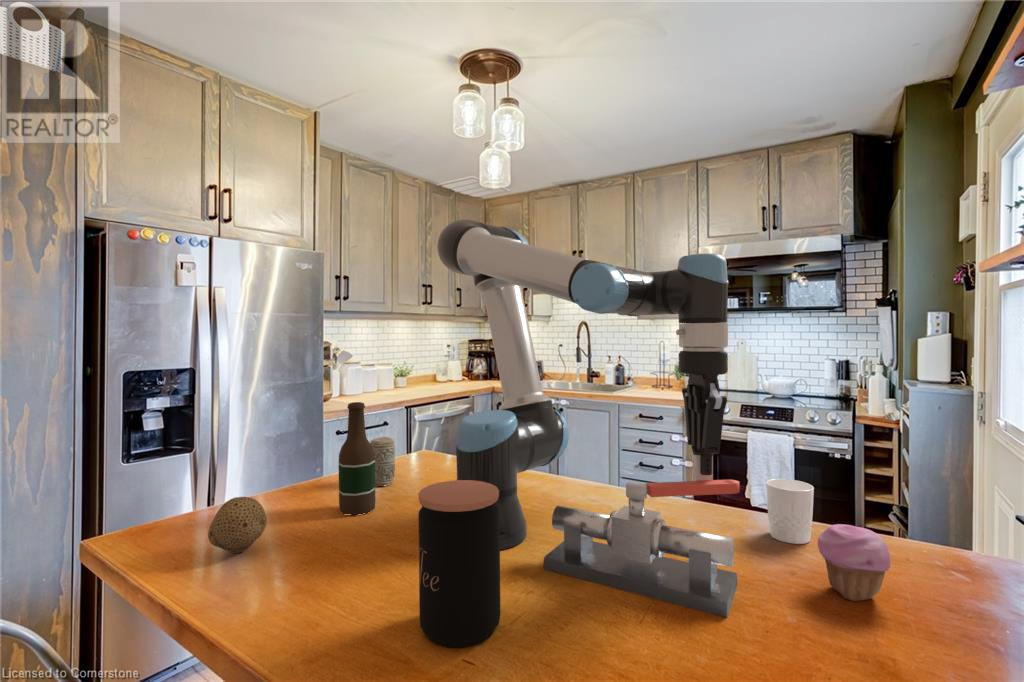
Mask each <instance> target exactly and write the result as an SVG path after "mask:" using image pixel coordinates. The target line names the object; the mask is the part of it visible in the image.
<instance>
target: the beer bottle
mask: <svg viewBox="0 0 1024 682" xmlns="http://www.w3.org/2000/svg"><path fill="white" fill-rule="evenodd" d="M365 405H366V404H365V403H364V402H359V401H355V402H349V403H347V408H346V409H348V416H347V417H348V418H347V420H348V421H347V434H346V440H345V441H344V443H343V444H342V445H341V448H340V450H339V453H338V506H339V512H340V511H341V512H342V513H343V514H351V515H358V514H363V513H368V512H370V511H371V510H372V511H374V510H375V508H376V486H375V455H374V450H373V448H372V445H371V444H370V443H371V441H369V440H368V437H367V434H366V423H365V408H366V406H365ZM373 509H374V510H373ZM372 511H371V512H372ZM341 512H340V513H341ZM371 512H370V513H371ZM342 513H341V514H342ZM343 514H342V515H343ZM368 514H369V513H368ZM363 515H364V514H363Z"/></svg>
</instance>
